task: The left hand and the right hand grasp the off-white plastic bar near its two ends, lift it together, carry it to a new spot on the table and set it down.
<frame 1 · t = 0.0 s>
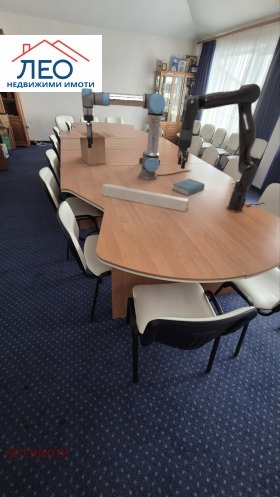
left hand: (90, 146, 173), 28 cm above the table, tool pointing down, fingers open, 13 cm apart
right hand: (180, 166, 138), 29 cm above the table, tool pointing down, fingers open, 8 cm apart
bar: (143, 201, 162), on the table
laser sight: (149, 164, 239), on the table
book: (188, 189, 186), on the table
box: (93, 161, 237), on the table
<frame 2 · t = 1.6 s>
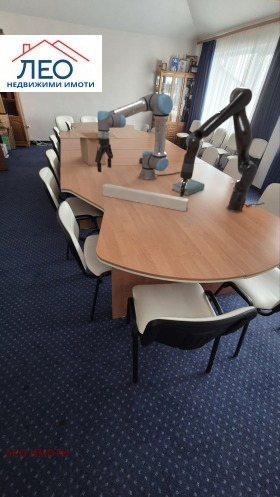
left hand: (104, 169, 162), 17 cm above the table, tool pointing down, fingers open, 13 cm apart
right hand: (182, 194, 150), 11 cm above the table, tool pointing down, fingers open, 8 cm apart
nothing on the table moved.
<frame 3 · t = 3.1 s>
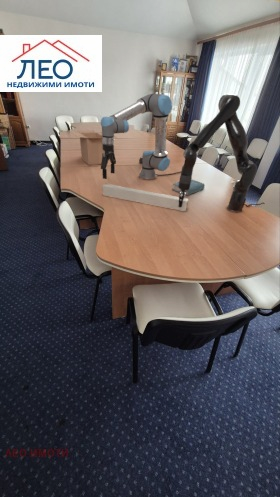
left hand: (108, 175, 159), 15 cm above the table, tool pointing down, fingers open, 13 cm apart
right hand: (180, 205, 154), 3 cm above the table, tool pointing down, fingers closed on bar, 5 cm apart
bar: (143, 201, 162), on the table, touching right hand
everything else where it was.
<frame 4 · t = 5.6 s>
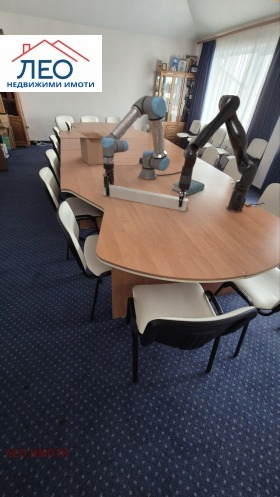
left hand: (109, 194, 168), 1 cm above the table, tool pointing down, fingers closed on bar, 5 cm apart
right hand: (180, 205, 154), 3 cm above the table, tool pointing down, fingers closed on bar, 5 cm apart
bar: (143, 201, 162), on the table, touching left hand, right hand
everything else where it was.
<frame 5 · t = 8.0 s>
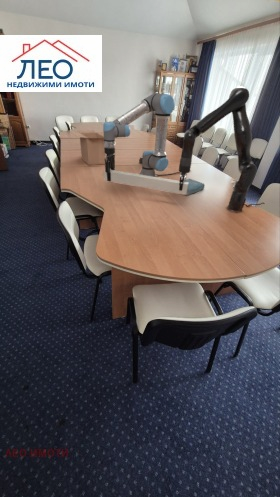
left hand: (110, 179, 170), 9 cm above the table, tool pointing down, fingers closed on bar, 5 cm apart
right hand: (181, 188, 156), 11 cm above the table, tool pointing down, fingers closed on bar, 5 cm apart
bar: (144, 186, 164), point 8 cm above the table, touching left hand, right hand
everything else where it was.
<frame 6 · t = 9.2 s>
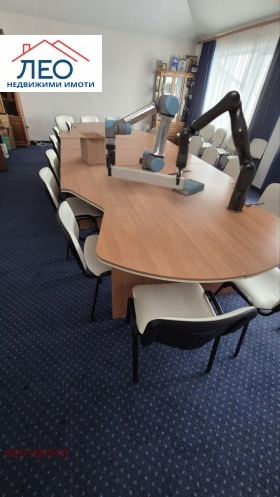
left hand: (111, 174, 179), 9 cm above the table, tool pointing down, fingers closed on bar, 5 cm apart
right hand: (178, 183, 165), 11 cm above the table, tool pointing down, fingers closed on bar, 5 cm apart
bar: (143, 181, 173), point 8 cm above the table, touching left hand, right hand
everything else where it was.
when the left hand's fingers open (2 cm above the table, at t = 10.2 s): bar drops 2 cm, on the table.
when the right hand's fingers open (4 cm above the table, at t = 10.4 s): bar stays where it is, on the table.
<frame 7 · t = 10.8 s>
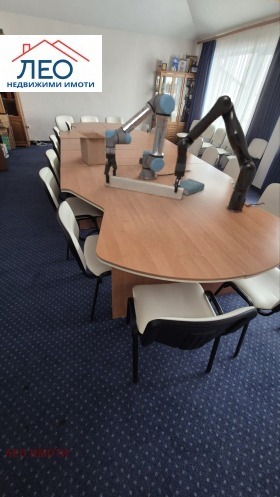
left hand: (111, 180, 181), 4 cm above the table, tool pointing down, fingers open, 13 cm apart
right hand: (176, 190, 169), 6 cm above the table, tool pointing down, fingers open, 8 cm apart
bar: (143, 191, 178), on the table
everything else where it was.
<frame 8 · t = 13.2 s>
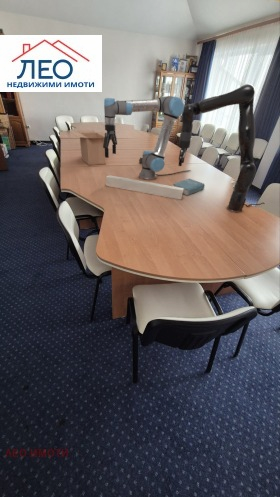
left hand: (110, 155, 170), 24 cm above the table, tool pointing down, fingers open, 13 cm apart
right hand: (180, 164, 157), 25 cm above the table, tool pointing down, fingers open, 8 cm apart
nothing on the table moved.
at the end: bar inside the target area (0.6 cm from its centre), on the table; bar tilted 0°; bar never tilted more than 2° during the clip; both hands held the bar at the same time; the left hand is holding nothing; the right hand is holding nothing; bar at rest at the end (0.0 cm/s) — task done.
